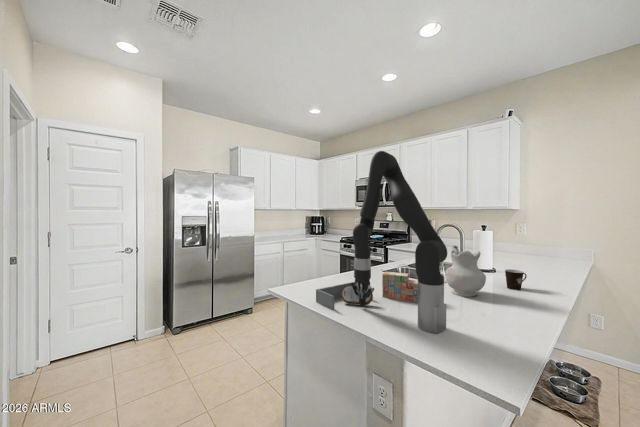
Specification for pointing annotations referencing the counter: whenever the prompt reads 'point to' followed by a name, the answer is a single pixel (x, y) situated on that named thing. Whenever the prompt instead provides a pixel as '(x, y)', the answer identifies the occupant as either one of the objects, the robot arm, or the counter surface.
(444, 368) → the counter surface
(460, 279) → the ceramic pitcher
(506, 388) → the counter surface
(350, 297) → the digital alarm clock
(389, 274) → the stack of blocks
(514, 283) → the coffee mug
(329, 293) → the box
